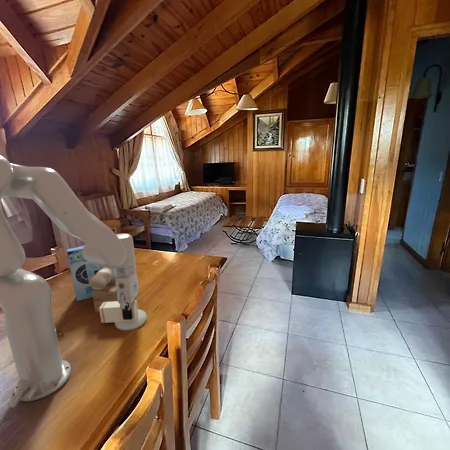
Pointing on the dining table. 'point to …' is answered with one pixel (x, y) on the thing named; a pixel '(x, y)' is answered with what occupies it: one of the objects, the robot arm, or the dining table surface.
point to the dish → (132, 322)
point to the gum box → (82, 272)
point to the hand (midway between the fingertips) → (130, 313)
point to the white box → (116, 312)
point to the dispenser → (103, 287)
